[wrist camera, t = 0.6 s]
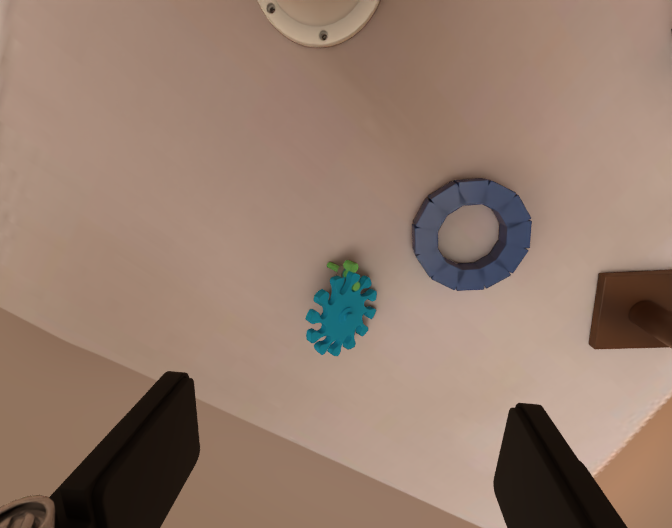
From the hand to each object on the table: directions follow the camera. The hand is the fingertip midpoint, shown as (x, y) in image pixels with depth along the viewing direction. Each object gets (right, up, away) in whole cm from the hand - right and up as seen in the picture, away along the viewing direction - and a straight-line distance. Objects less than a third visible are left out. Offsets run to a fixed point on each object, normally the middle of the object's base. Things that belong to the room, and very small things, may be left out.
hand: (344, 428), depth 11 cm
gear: (+1, +1, +33) cm, 33 cm away
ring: (+14, +8, +29) cm, 34 cm away
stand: (+34, 0, +30) cm, 46 cm away
